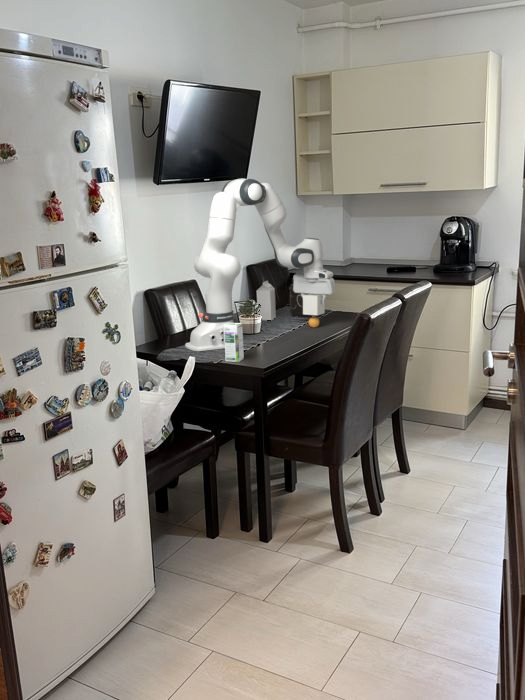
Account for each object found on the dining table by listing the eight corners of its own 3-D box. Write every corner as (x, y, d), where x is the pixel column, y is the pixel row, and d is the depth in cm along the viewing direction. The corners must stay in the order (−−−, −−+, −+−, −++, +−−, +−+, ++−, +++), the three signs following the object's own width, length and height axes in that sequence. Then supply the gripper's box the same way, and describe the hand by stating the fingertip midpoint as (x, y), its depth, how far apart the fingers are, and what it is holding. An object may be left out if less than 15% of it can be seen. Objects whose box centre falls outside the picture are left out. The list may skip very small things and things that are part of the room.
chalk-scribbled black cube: (314, 319, 333) (313, 287, 329) (283, 316, 342) (282, 285, 338) (331, 312, 347) (331, 282, 343) (301, 310, 357) (300, 280, 353)
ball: (318, 315, 316) (319, 325, 317) (307, 315, 316) (308, 326, 317) (319, 317, 311) (320, 328, 313) (308, 318, 311) (309, 329, 313)
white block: (317, 315, 308) (317, 296, 307) (303, 314, 312) (302, 295, 310) (324, 313, 315) (324, 294, 313) (310, 312, 318) (310, 293, 317)
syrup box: (225, 361, 262) (222, 325, 259) (231, 357, 268) (229, 321, 264) (238, 362, 260) (236, 325, 257) (244, 358, 266) (242, 322, 262)
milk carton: (257, 320, 335) (256, 282, 331) (262, 317, 342) (261, 280, 337) (271, 321, 333) (269, 282, 328) (275, 318, 339) (274, 280, 335)
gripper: (290, 273, 312) (291, 303, 315) (330, 275, 302) (331, 305, 305) (296, 271, 317) (297, 300, 321) (336, 273, 307) (337, 303, 310)
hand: (314, 303), depth 313 cm, fingers closed on white block, 7 cm apart
